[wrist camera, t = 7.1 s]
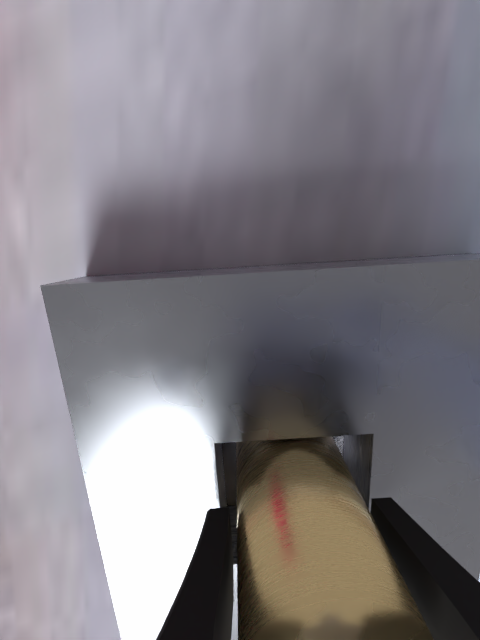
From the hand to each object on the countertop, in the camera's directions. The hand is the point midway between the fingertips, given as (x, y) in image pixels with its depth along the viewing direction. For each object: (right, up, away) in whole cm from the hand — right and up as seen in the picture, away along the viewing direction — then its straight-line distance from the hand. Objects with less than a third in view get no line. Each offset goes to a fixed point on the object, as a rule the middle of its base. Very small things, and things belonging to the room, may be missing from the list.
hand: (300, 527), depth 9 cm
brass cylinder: (0, +1, +3) cm, 4 cm away
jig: (0, +1, +3) cm, 3 cm away
